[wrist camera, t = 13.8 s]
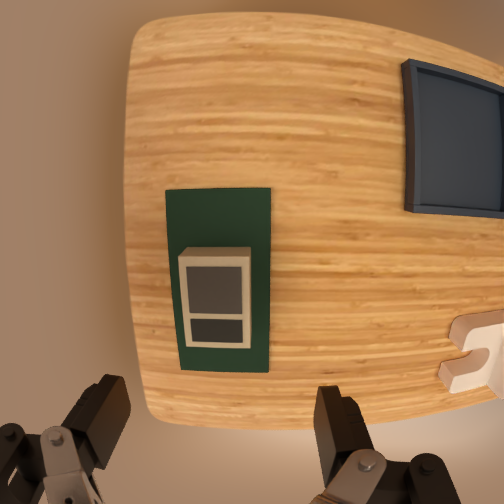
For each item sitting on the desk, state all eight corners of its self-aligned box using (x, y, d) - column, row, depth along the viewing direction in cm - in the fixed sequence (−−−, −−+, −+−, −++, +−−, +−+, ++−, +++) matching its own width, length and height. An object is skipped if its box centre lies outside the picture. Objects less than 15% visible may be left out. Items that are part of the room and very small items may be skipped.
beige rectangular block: (186, 246, 31) (177, 256, 27) (250, 246, 31) (249, 256, 27) (193, 329, 33) (185, 347, 29) (251, 330, 33) (250, 349, 29)
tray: (401, 63, 26) (409, 58, 24) (499, 91, 25) (509, 89, 23) (404, 210, 30) (413, 213, 28) (501, 216, 29) (511, 219, 27)
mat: (166, 190, 30) (165, 190, 29) (270, 187, 30) (270, 188, 29) (181, 367, 35) (180, 369, 34) (268, 370, 34) (268, 372, 34)
